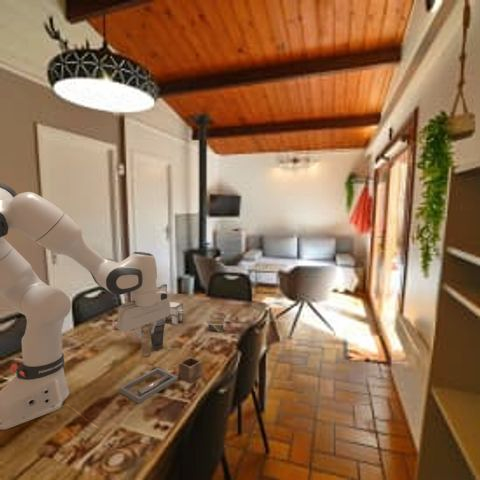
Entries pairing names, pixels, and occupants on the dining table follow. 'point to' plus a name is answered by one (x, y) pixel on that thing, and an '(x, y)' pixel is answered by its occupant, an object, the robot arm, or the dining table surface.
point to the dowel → (146, 341)
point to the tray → (140, 399)
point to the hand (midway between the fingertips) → (145, 335)
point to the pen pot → (190, 369)
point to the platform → (215, 325)
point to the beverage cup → (158, 335)
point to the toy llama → (173, 308)
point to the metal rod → (153, 385)
